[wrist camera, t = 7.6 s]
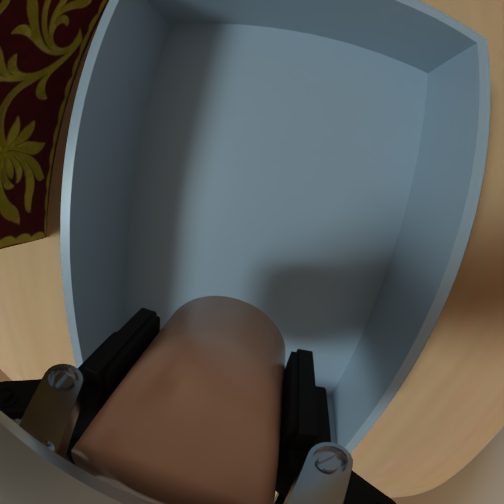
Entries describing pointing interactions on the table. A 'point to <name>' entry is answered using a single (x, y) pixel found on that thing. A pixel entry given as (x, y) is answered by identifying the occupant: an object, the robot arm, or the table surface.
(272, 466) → the canister
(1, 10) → the decorative box
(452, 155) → the tote
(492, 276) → the table surface
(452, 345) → the table surface
